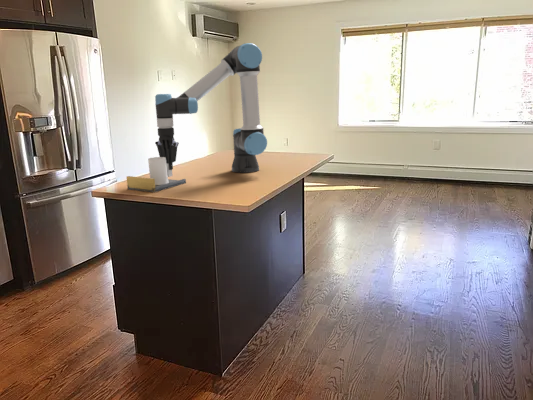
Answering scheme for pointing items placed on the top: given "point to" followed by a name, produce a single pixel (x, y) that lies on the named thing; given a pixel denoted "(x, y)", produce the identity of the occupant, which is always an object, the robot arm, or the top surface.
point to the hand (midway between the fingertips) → (169, 176)
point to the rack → (150, 184)
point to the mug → (158, 170)
